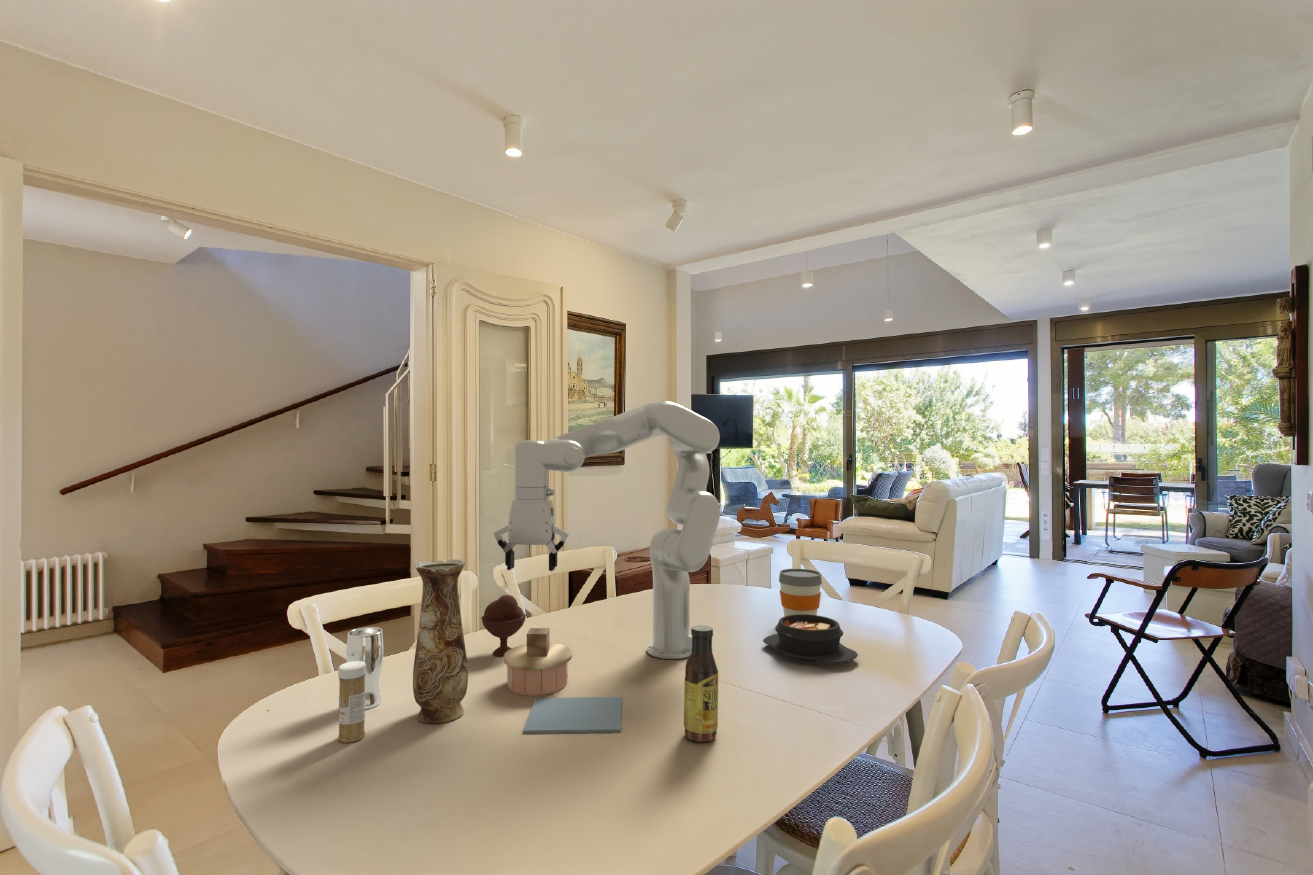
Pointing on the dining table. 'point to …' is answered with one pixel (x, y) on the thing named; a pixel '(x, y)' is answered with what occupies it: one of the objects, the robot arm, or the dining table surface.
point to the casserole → (810, 639)
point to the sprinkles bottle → (351, 701)
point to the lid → (537, 652)
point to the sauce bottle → (701, 688)
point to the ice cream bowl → (503, 621)
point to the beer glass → (367, 659)
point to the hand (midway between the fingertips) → (531, 569)
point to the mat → (575, 715)
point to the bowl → (537, 680)
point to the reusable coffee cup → (800, 591)
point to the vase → (440, 645)
